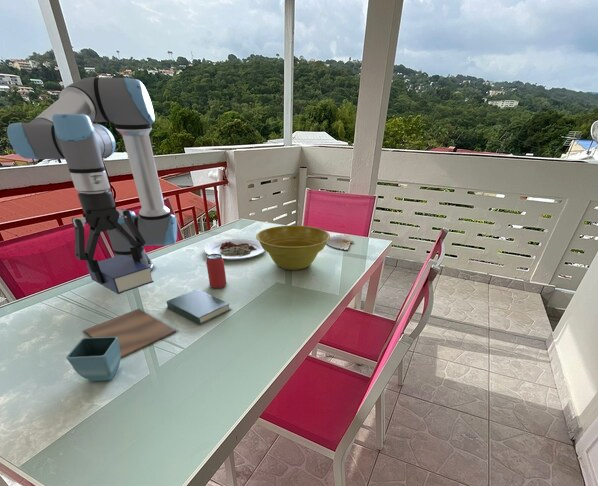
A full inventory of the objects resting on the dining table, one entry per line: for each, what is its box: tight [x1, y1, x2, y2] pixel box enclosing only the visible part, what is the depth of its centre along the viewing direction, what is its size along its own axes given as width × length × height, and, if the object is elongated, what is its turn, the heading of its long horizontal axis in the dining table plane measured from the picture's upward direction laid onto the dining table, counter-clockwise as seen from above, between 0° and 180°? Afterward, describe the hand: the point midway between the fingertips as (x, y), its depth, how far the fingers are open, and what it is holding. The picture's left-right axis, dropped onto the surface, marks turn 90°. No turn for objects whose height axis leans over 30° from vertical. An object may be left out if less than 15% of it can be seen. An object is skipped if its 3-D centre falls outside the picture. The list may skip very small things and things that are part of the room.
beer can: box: [205, 254, 228, 289], centre depth 128 cm, size 7×7×12 cm
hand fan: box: [326, 233, 354, 251], centre depth 178 cm, size 26×1×15 cm
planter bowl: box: [255, 225, 331, 271], centre depth 147 cm, size 32×32×13 cm
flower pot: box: [65, 337, 122, 382], centre depth 83 cm, size 9×9×9 cm
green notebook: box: [165, 288, 231, 325], centre depth 115 cm, size 18×13×2 cm
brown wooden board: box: [83, 308, 177, 359], centre depth 102 cm, size 22×18×1 cm
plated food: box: [204, 238, 266, 261], centre depth 163 cm, size 30×30×3 cm
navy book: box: [86, 255, 155, 295], centre depth 93 cm, size 15×10×4 cm
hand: (121, 276), depth 94 cm, fingers closed on navy book, 10 cm apart
